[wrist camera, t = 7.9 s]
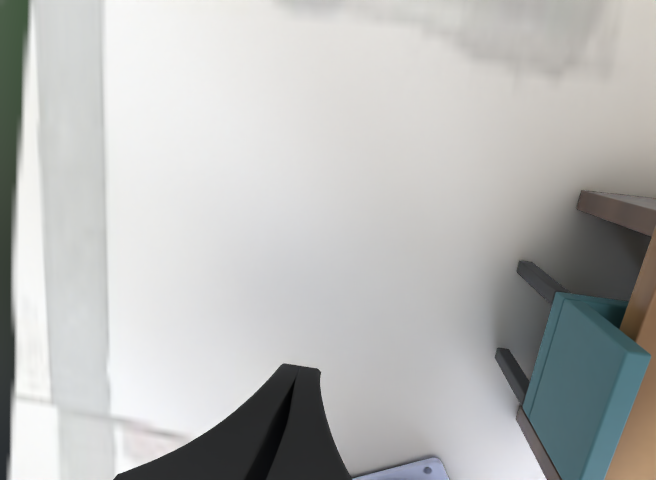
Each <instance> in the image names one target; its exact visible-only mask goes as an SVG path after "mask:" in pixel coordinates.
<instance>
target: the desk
mask: <svg viewBox="0 0 656 480" xmlns="http://www.w3.org/2000/svg"><path fill="white" fill-rule="evenodd" d="M576 209H577V210H580V211H582V212H585V213H588V214H591V215H593V216H596V217H599V218H601V219H604V220H607V221H610V222H612V223H615V224H618V225H620V226H623V227H626V228H629V229H631V230H634V231H637V232H639V233H642V234H645V235H648V236H650V237H652V238H651V240H650V243H649V246H648V249H647V252H646V255H645V258H644V260H643V263H642V266H641V269H640V272H639V275H638V277H637V280H636V283H635V286H634V289H633V292H632V295H631V297H630V300H629V303H628V306H627V309H626V312H625V315H624V317H623V320H622V323H621V326H620V329H619V330H620V331H622V332H623V333H624V334H625V335H627V336H628V337H629V338H631V339H632V340H633V341H634V342H636V343H637V344H638V345H639V346H641V347H642V348H643V349H645V350H646V351H647V352H648V353H650V354H651V359H650V362H649V365H648V367H647V370H646V372H645V375H644V378H643V380H642V383H641V385H640V388H639V391H638V393H637V396H636V398H635V401H634V404H633V406H632V409H631V411H630V414H629V417H628V419H627V422H626V424H625V427H624V430H623V432H622V435H621V437H620V440H619V443H618V445H617V448H616V450H615V453H614V456H613V458H612V461H611V463H610V466H609V469H608V471H607V474H606V476H605V479H604V480H656V199H655V198H646V197H638V196H629V195H620V194H611V193H602V192H594V191H585V190H582V191H581V194H580V198H579V201H578V205H577V208H576ZM516 420H517V422H518V424H519V426H520V428H521V430H522V432H523V434H524V436H525V438H526V440H527V442H528V444H529V446H530V448H531V450H532V451H533V453H534V455H535V457H536V459H537V461H538V463H539V465H540V467H541V469H542V471H543V473H544V475H545V477H546V479H547V480H562V478H561V476H560V475H559V473H558V471H557V469H556V467H555V466H554V464H553V462H552V460H551V458H550V456H549V455H548V453H547V451H546V449H545V447H544V446H543V444H542V442H541V440H540V438H539V437H538V435H537V433H536V431H535V429H534V428H533V426H532V424H531V422H530V420H529V418H528V417H527V415H526V413H525V411H524V409H523V407H522V406H519V410H518V413H517V417H516Z"/></svg>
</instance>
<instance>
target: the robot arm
mask: <svg viewBox="0 0 656 480" xmlns="http://www.w3.org/2000/svg"><path fill="white" fill-rule="evenodd" d="M320 375H321V372H320V371H319V369H317V368H310V367H304V366H297V365H291V364H282V365H281V366H280V367H279V368H278V369H277V370H276V372H275V373H274V374H273V375H272V376H271V377H270V378H269V379H268V380H267V382H266V383H265V384H264V385H263V386H262V387H261V388H260V389H259V390H258V391H257V392H256V393H255V394H254V395H253V396H252V397H250V398H249V399H248V400H247V401H246V402H245V403H244V404H243V405H241V406H240V407H239V408H238V409H237V410H236V411H235V412H233V413H232V414H231V415H230V416H228V417H227V418H226V419H224V420H223V421H222V422H220V423H219V424H218V425H216V426H215V427H213V428H212V429H210V430H209V431H207V432H206V433H204V434H203V435H201V436H200V437H198V438H196V439H195V440H193V441H191V442H190V443H188V444H186V445H184V446H182V447H180V448H178V449H177V450H175V451H173V452H171V453H168V454H166V455H164V456H162V457H160V458H158V459H156V460H153V461H151V462H149V463H146V464H144V465H141V466H138V467H136V468H133V469H131V470H128V471H126V472H123V473H120V474H118V475H117V476H116V477H115V478H114V479H113V480H450V479H449V477H448V475H447V472H446V470H445V468H444V466H443V463H442V462H441V460H440V459H438V458H429V459H425V460H421V461H418V462H414V463H410V464H406V465H402V466H399V467H395V468H391V469H387V470H383V471H380V472H376V473H372V474H368V475H364V476H360V477H357V478H353V479H352V478H351V476H350V474H349V473H348V471H347V469H346V467H345V465H344V463H343V461H342V459H341V457H340V454H339V452H338V450H337V447H336V445H335V442H334V440H333V437H332V434H331V431H330V428H329V425H328V422H327V418H326V415H325V411H324V406H323V402H322V396H321V389H320ZM425 467H429V468H428V469H426V468H425Z"/></svg>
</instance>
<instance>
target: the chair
mask: <svg viewBox="0 0 656 480" xmlns="http://www.w3.org/2000/svg"><path fill="white" fill-rule="evenodd" d="M517 273H518V274H519V275H520V276H522V277H523V278H524V279H525V280H526V281H527V282H528V283H529V284H530V285H531V286H532V287H533V288H534V289H535V290H536V291H537V292H538V293H539V294H541V295H542V296H543V297H544V298H545V299H546V300H547V301H548V302H549V303H550V304H551V305H552V307H551V311H550V314H549V318H548V321H547V325H546V328H545V331H544V335H543V338H542V342H541V345H540V349H539V352H538V356H537V359H536V362H535V366H534V369H533V373H532V376H531V380H530V382H529V380H528V378H527V377H526V375H525V374H524V372H523V371H522V369H521V368H520V366H519V364H518V363H517V361H516V360H515V358H514V357H513V355H512V354H511V352H510V350H508V349H502V348H497V351H496V355H495V359H496V361H497V363H498V365H499V366H500V368H501V370H502V372H503V374H504V375H505V377H506V379H507V381H508V383H509V384H510V386H511V388H512V390H513V392H514V393H515V395H516V397H517V399H518V401H519V402H520V404H521V406H522V407H523V409H524V411H525V413H526V415H527V417H528V418H529V420H530V422H531V424H532V426H533V428H534V429H535V431H536V433H537V435H538V437H539V438H540V440H541V442H542V444H543V446H544V447H545V449H546V451H547V453H548V455H549V456H550V458H551V460H552V462H553V464H554V466H555V467H556V469H557V471H558V473H559V475H560V476H561V478H562V480H604V479H605V476H606V474H607V471H608V469H609V466H610V463H611V461H612V458H613V456H614V453H615V450H616V448H617V445H618V443H619V440H620V437H621V435H622V432H623V430H624V427H625V424H626V422H627V419H628V417H629V414H630V411H631V409H632V406H633V404H634V401H635V398H636V396H637V393H638V391H639V388H640V385H641V383H642V380H643V378H644V375H645V372H646V370H647V367H648V365H649V362H650V359H651V354H650V353H648V352H647V351H646V350H645V349H643V348H642V347H641V346H639V345H638V344H637V343H636V342H634V341H633V340H632V339H631V338H629V337H628V336H627V335H625V334H624V333H623V332H622V331H620V330H619V329H620V326H621V323H622V320H623V317H624V315H625V312H626V309H627V306H628V303H629V301H623V300H616V299H608V298H601V297H593V296H586V295H578V294H571V293H570V292H569V291H568V290H567V289H565V288H564V287H563V286H562V285H560V284H559V283H558V282H556V281H555V280H554V279H553V278H551V277H550V276H549V275H548V274H546V273H545V272H544V271H543V270H541V269H540V268H539V267H538V266H536V265H535V264H534V263H533V262H529V261H519V265H518V268H517Z"/></svg>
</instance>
